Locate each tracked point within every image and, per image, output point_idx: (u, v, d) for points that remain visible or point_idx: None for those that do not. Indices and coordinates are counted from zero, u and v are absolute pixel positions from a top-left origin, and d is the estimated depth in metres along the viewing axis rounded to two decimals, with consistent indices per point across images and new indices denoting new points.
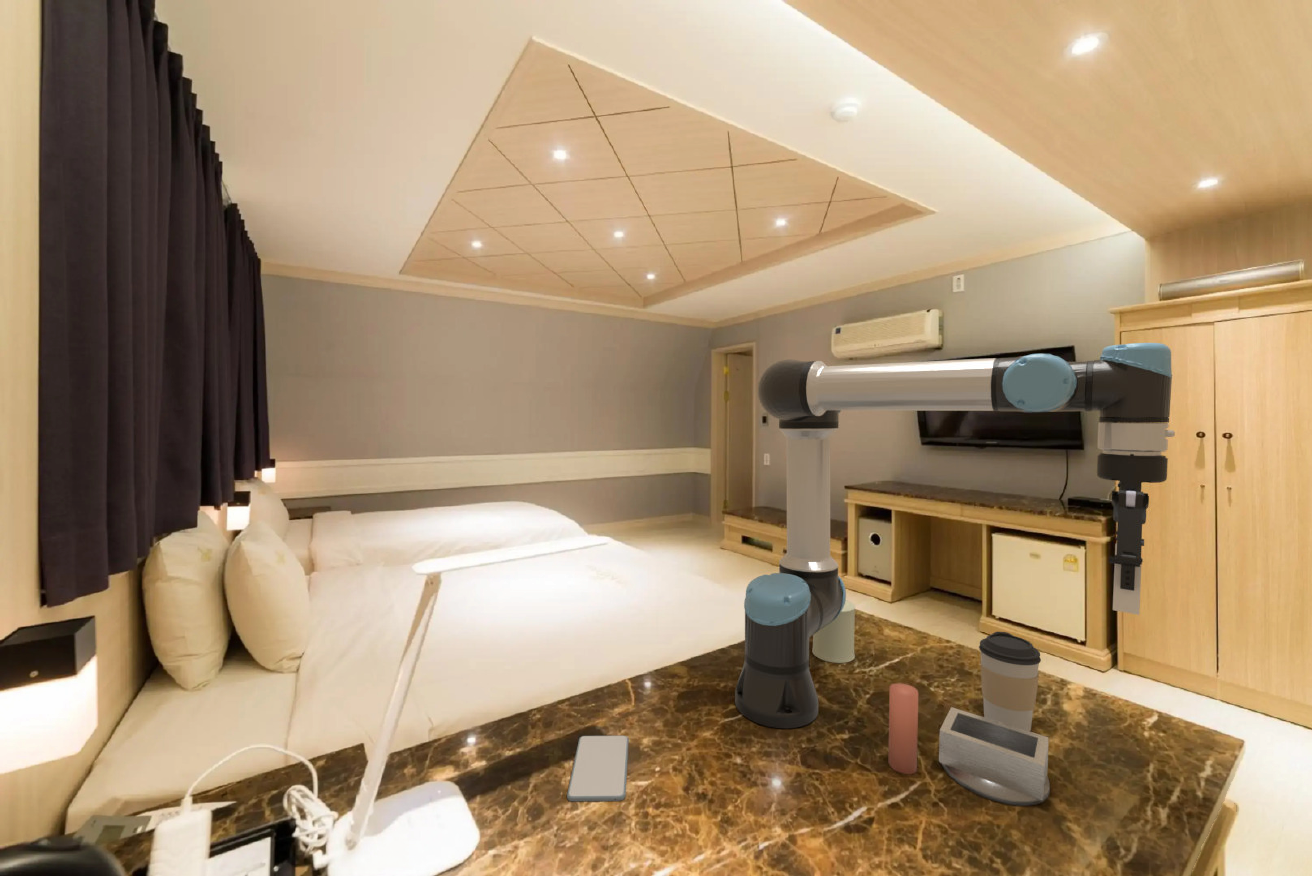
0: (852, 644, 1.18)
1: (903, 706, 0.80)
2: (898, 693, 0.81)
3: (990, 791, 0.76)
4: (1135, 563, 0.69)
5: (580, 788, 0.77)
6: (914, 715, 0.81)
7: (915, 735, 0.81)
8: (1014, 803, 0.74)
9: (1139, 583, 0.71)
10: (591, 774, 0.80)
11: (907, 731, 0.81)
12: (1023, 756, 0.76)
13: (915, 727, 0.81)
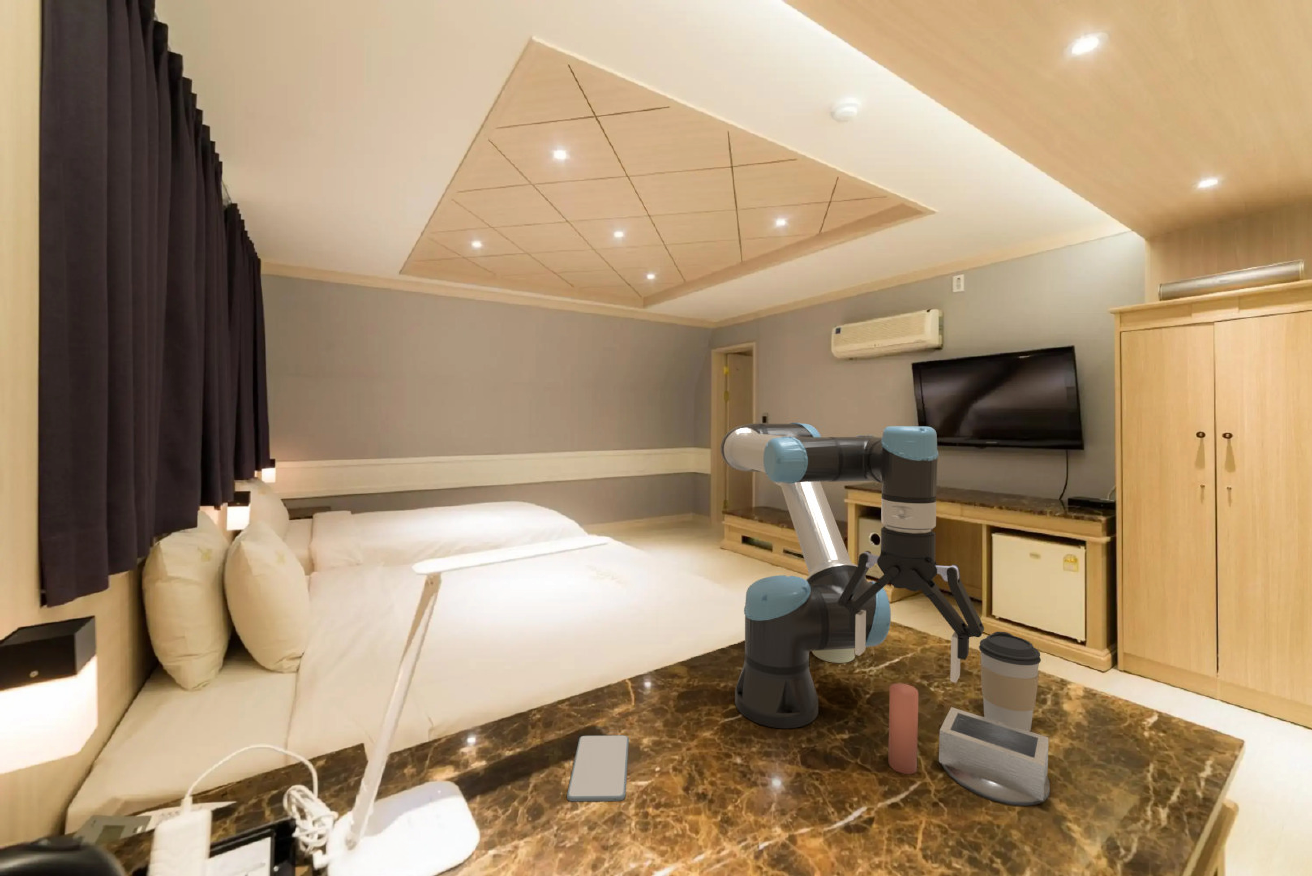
0: None
1: (903, 706, 0.80)
2: (898, 693, 0.81)
3: (990, 791, 0.76)
4: None
5: (580, 788, 0.77)
6: (914, 715, 0.81)
7: (915, 735, 0.81)
8: (1014, 803, 0.74)
9: (855, 628, 0.85)
10: (591, 774, 0.80)
11: (907, 731, 0.81)
12: (1023, 756, 0.76)
13: (915, 727, 0.81)
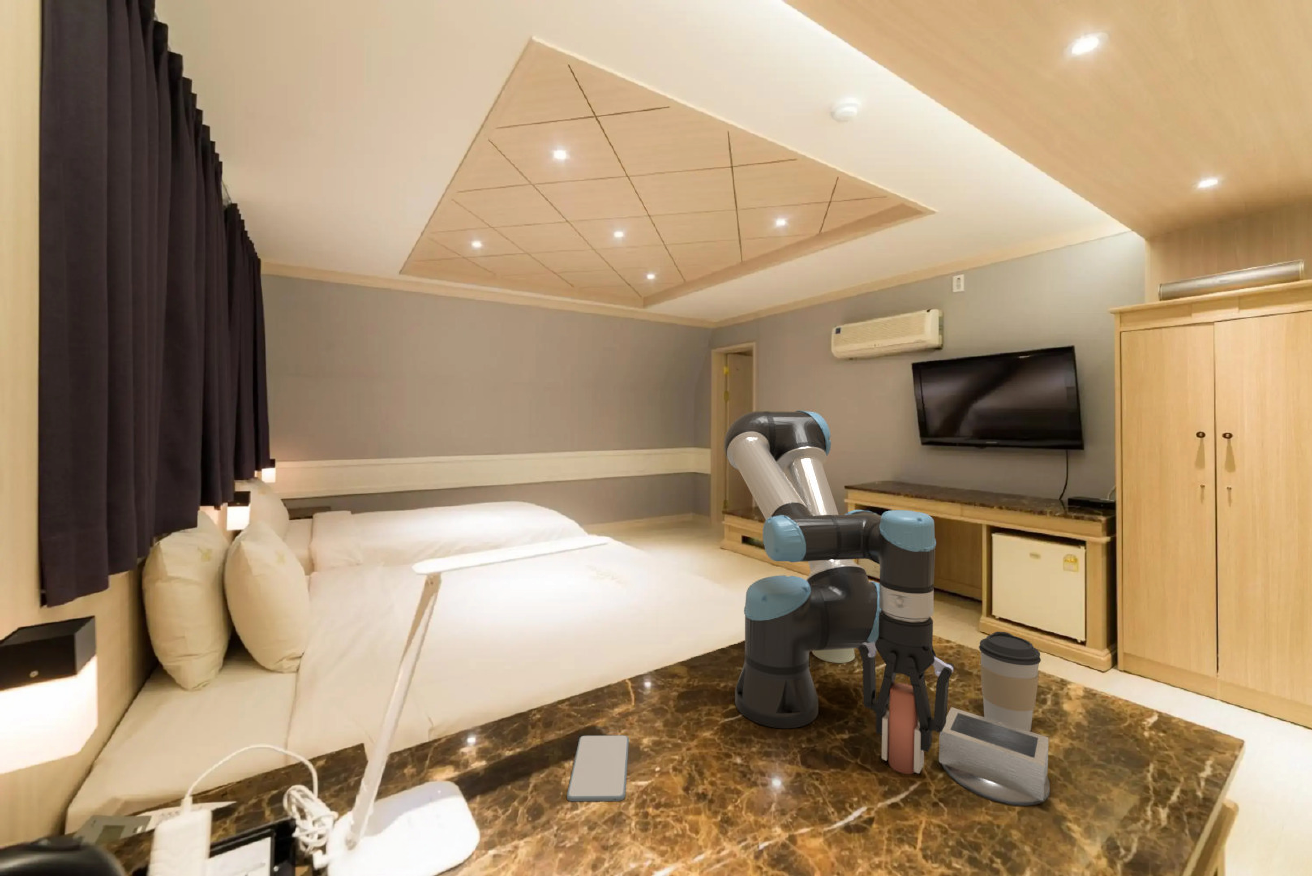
0: None
1: (903, 706, 0.81)
2: (898, 693, 0.81)
3: (990, 791, 0.76)
4: None
5: (580, 788, 0.77)
6: (914, 715, 0.81)
7: None
8: (1014, 803, 0.74)
9: (882, 732, 0.83)
10: (591, 774, 0.80)
11: (907, 731, 0.81)
12: (1023, 756, 0.76)
13: (915, 727, 0.81)
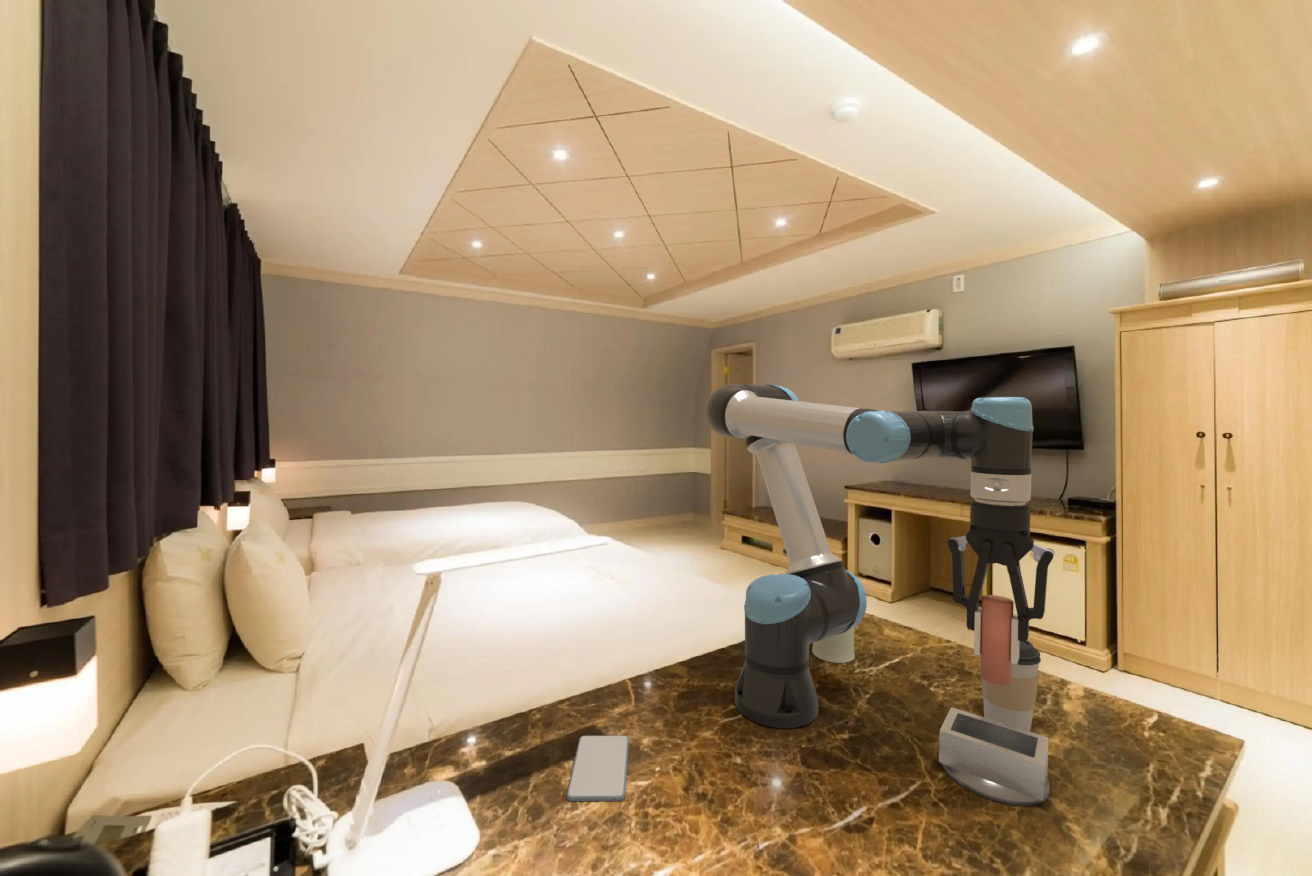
0: (852, 644, 1.18)
1: (999, 614, 0.78)
2: (992, 602, 0.79)
3: (990, 791, 0.76)
4: None
5: (580, 788, 0.77)
6: (1010, 623, 0.78)
7: None
8: (1014, 803, 0.74)
9: (974, 626, 0.81)
10: (591, 774, 0.80)
11: (1003, 640, 0.78)
12: (1023, 756, 0.76)
13: None
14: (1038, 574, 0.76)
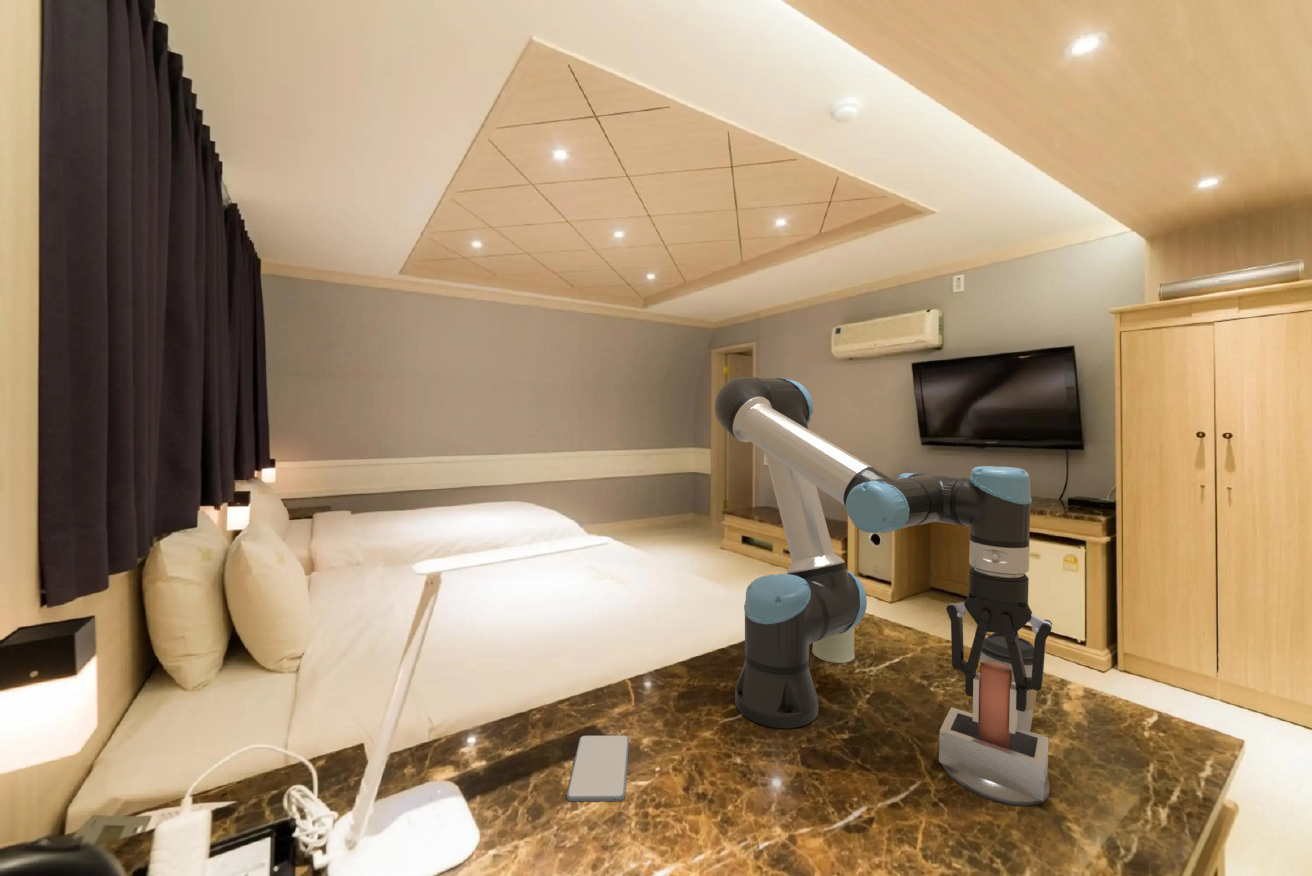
0: (852, 644, 1.18)
1: (997, 683, 0.79)
2: (991, 671, 0.79)
3: (990, 791, 0.76)
4: None
5: (580, 788, 0.77)
6: (1008, 693, 0.79)
7: None
8: (1014, 803, 0.74)
9: (973, 693, 0.81)
10: (591, 774, 0.80)
11: (1001, 710, 0.79)
12: (1023, 756, 0.76)
13: (1009, 705, 0.79)
14: (1036, 646, 0.76)
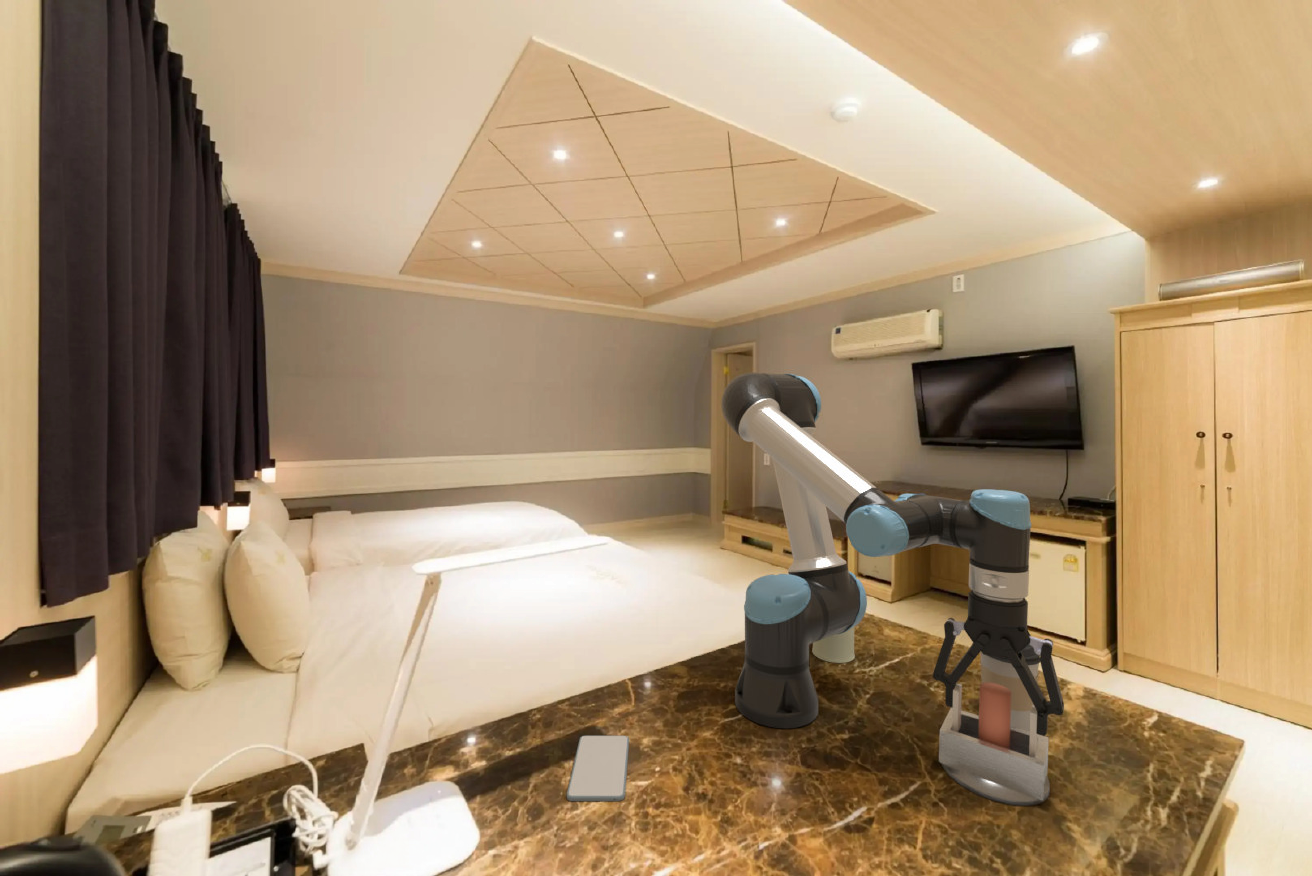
0: (852, 644, 1.18)
1: (997, 705, 0.79)
2: (990, 693, 0.79)
3: (990, 791, 0.76)
4: None
5: (580, 788, 0.77)
6: (1008, 715, 0.79)
7: (1008, 735, 0.79)
8: (1014, 803, 0.74)
9: (952, 704, 0.83)
10: (591, 774, 0.80)
11: (1000, 732, 0.79)
12: (1023, 756, 0.76)
13: (1008, 727, 0.79)
14: (1044, 668, 0.76)
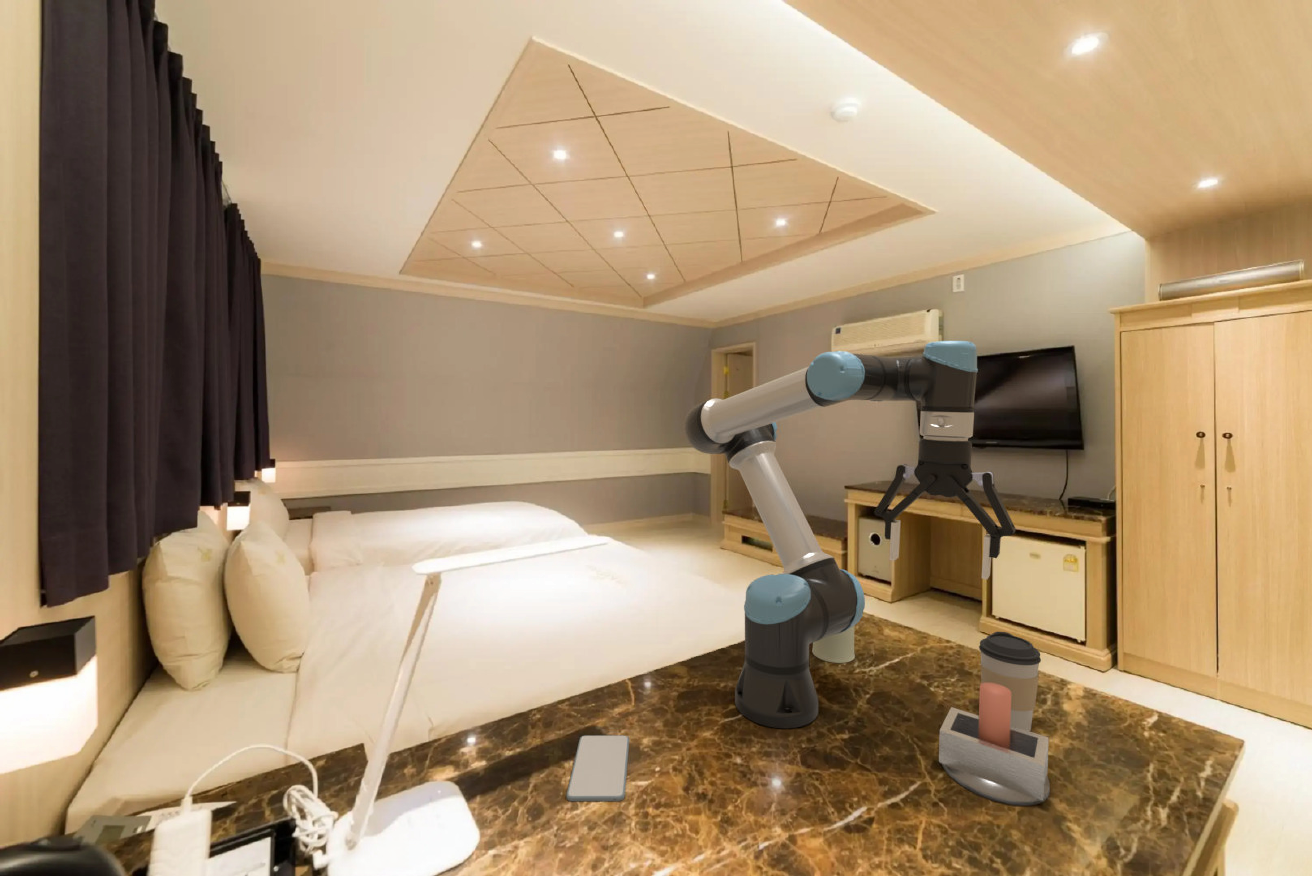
0: (852, 644, 1.18)
1: (997, 705, 0.79)
2: (990, 693, 0.79)
3: (990, 791, 0.76)
4: None
5: (579, 788, 0.77)
6: (1008, 715, 0.79)
7: (1008, 735, 0.79)
8: (1014, 803, 0.74)
9: (890, 535, 0.91)
10: (591, 774, 0.80)
11: (1000, 732, 0.79)
12: (1023, 756, 0.76)
13: (1008, 727, 0.79)
14: (988, 496, 0.81)
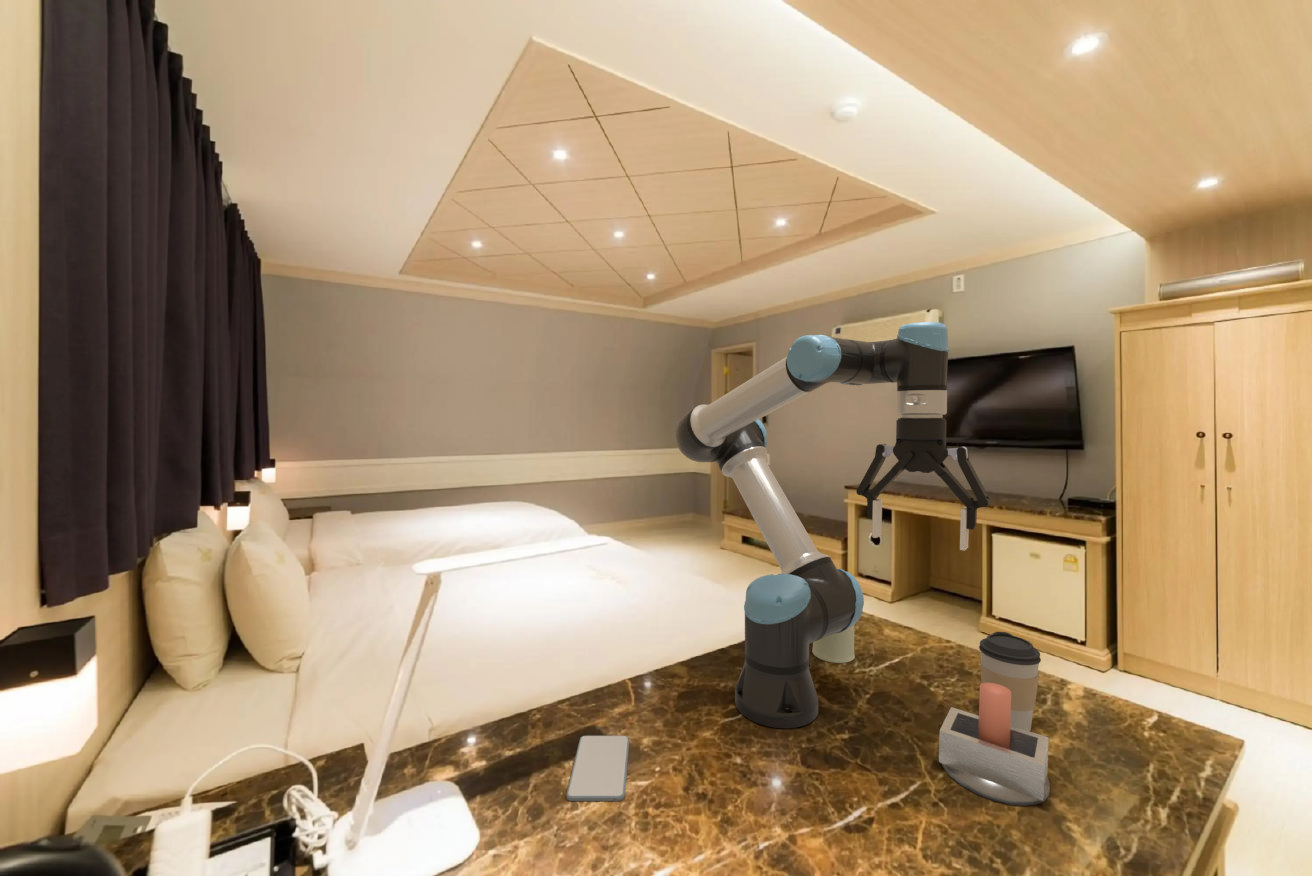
0: (852, 644, 1.18)
1: (997, 705, 0.79)
2: (990, 693, 0.79)
3: (990, 791, 0.76)
4: None
5: (579, 788, 0.77)
6: (1008, 715, 0.79)
7: (1008, 735, 0.79)
8: (1014, 803, 0.74)
9: (872, 513, 0.94)
10: (591, 774, 0.80)
11: (1000, 732, 0.79)
12: (1023, 756, 0.76)
13: (1008, 727, 0.79)
14: (963, 469, 0.85)
